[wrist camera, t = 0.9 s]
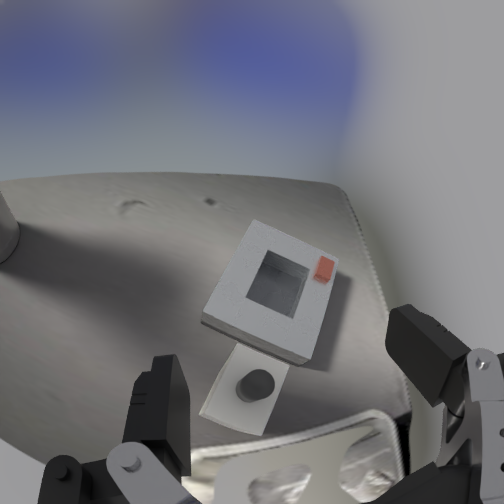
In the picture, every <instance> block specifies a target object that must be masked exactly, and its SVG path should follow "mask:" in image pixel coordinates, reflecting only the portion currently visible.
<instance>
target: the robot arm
mask: <svg viewBox="0 0 504 504" xmlns="http://www.w3.org/2000/svg"><path fill="white" fill-rule="evenodd" d="M19 236H20V228H19V225H18V223H17V222H16V220H15V218H14V216H13V214H12V213H11V211H10V209H9V207H8V205H7V203H6V201H5V199H4V197H3V195H2V193H1V191H0V263H1V262H3V261H4V260H5V259H7V258H8V257H9V256H10V254H11V253H12V252H13V250H14V249H15V247H16V245H17V243H18V240H19ZM385 346H386V350H387V352H388V354H389V356H390V357H391V358H392V359H393V360H394V362H395V363H396V364H397V365H398V366H399V367H400V369H401V370H402V371H403V372H404V373H405V375H406V376H407V377H408V378H409V379H410V381H411V382H412V383H413V384H414V385H415V387H416V388H417V389H418V390H419V391H420V392H421V394H422V395H423V396H424V398H425V399H426V400H427V401H428V402H429V404H430V405H431V406H432V407H435V406H436V405H438V404H440V403H442V402H444V403H445V407H444V409H443V425H442V440H441V449H440V453H439V455H438V458H437V460H436V462H435V463H434V462H431V463H430V464H428V465H426V466H424V467H423V468H421V469H419V470H417V471H416V472H414V473H412V474H410V475H408V476H406V477H404V478H403V479H402V480H401V481H399V482H398V483H397V484H396V485H394V486H393V487H392V488H391V489H389V490H388V491H387V492H385V493H384V494H383V495H381V496H380V497H379V498H377V499H376V500H374V501H371V502H367V503H361V504H504V353H502V354H498V355H496V354H494V353H493V352H492V351H490V350H487V349H482V348H478V349H474V350H471V349H470V348H469V347H467V346H466V345H465V344H464V343H463V342H462V341H460V340H459V339H458V338H457V337H456V336H455V335H453V334H452V333H451V332H450V331H447V329H446V328H445V327H444V326H443V325H442V326H441V324H440V323H439V322H438V321H437V320H435V319H434V318H433V317H431V316H429V315H426V314H424V313H422V312H419V311H418V310H417V309H416V308H414V307H413V306H412V305H410V304H406V305H403V306H400V307H397V308H394V309H392V310H391V311H390V314H389V321H388V327H387V333H386V339H385ZM181 476H191V452H190V395H189V389H188V386H187V383H186V380H185V377H184V375H183V372H182V369H181V366H180V364H179V361H178V358H177V356H176V355H175V354H173V355H164V356H155V357H154V358H153V363H152V368H151V371H148V372H142V373H141V375H140V376H139V377H138V379H137V380H136V381H135V383H134V387H133V391H132V396H131V401H130V406H129V410H128V415H127V420H126V425H125V430H124V435H123V440H122V444H120V445H118V446H116V447H115V448H114V449H112V451H111V452H110V453H109V455H108V457H107V458H106V459H103V460H99V461H94V462H89V463H84V464H80V463H79V462H78V461H77V460H76V459H75V458H73V457H71V456H68V455H59V456H56V457H54V458H53V459H51V460H50V461H49V462H48V463H47V465H46V467H45V470H44V474H43V478H42V483H41V488H40V493H39V498H38V504H202V503H201V502H200V501H198V500H197V499H196V498H194V497H193V496H192V495H191V494H190V493H189V492H188V491H187V490H186V489H185V488H184V487H183V486H182V485H181Z"/></svg>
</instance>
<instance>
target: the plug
mask: <svg viewBox="0 0 504 504" xmlns="http://www.w3.org/2000/svg"><path fill="white" fill-rule="evenodd" d="M289 366H290V365H288V364H286V363H283V362H281V361H278V360H276V359H274V358H271V357H269V356H267V355H264V354H262V353H260V352H257V351H255V350H253V349H251V348H248V347H246V346H244V345H242V344H239V343H237V345H236V346H235V348H234V350H233V351H232V353H231V354H230V356H229V358H228V359H227V361H226V362H225V364H224V366H223V367H222V369H221V370H220V372H219V374H218V376H217V378H216V380H215V382H214V384H213V386H212V388H211V390H210V392H209V394H208V396H207V398H206V401H205V403H204V405H203V407H202V409H201V411H200V413H199V415H200V416H202V417H204V418H207V419H209V420H211V421H213V422H216V423H218V424H220V425H223V426H225V427H228V428H230V429H233V430H237V431H241V432H245V433H249V434H254V435H258V436H262V434H263V431H264V429H265V427H266V424H267V422H268V420H269V417H270V415H271V412H272V410H273V407H274V405H275V403H276V400H277V398H278V395H279V392H280V390H281V387H282V385H283V382H284V380H285V377H286V374H287V372H288V369H289Z"/></svg>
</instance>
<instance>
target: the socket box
mask: <svg viewBox="0 0 504 504" xmlns="http://www.w3.org/2000/svg"><path fill="white" fill-rule="evenodd" d="M338 262H339V259H338V258H336V257H334V256H332V255H330V254H328V253H326V252H324V251H322V250H320V249H317V248H315V247H313V246H311V245H309V244H307V243H305V242H303V241H300V240H298V239H296V238H294V237H292V236H290V235H288V234H285V233H283V232H281V231H279V230H277V229H275V228H272V227H270V226H268V225H266V224H264V223H261V222H259V221H257V220H255V219H253V221H252V223H251V225H250V226H249V228H248V230H247V232H246V233H245V235H244V237H243V239H242V241H241V242H240V244H239V246H238V248H237V250H236V251H235V253H234V255H233V257H232V258H231V260H230V262H229V264H228V266H227V267H226V269H225V271H224V273H223V275H222V277H221V278H220V280H219V282H218V284H217V286H216V287H215V289H214V291H213V293H212V295H211V296H210V298H209V300H208V302H207V304H206V306H205V307H204V309H203V311H202V319H201V323H202V324H204V325H206V326H208V327H210V328H212V329H214V330H216V331H218V332H220V333H222V334H224V335H226V336H229V337H231V338H233V339H235V340H237V341H239V342H242V343H244V344H246V345H248V346H250V347H253V348H255V349H257V350H259V351H262V352H264V353H266V354H269V355H271V356H273V357H276V358H278V359H281V360H283V361H285V362H288V363H290V364H293V365H295V366H300V365H302V364H304V363H305V362H307V361H309V360H311V357H312V354H313V351H314V348H315V345H316V341H317V338H318V335H319V332H320V328H321V325H322V322H323V318H324V315H325V311H326V308H327V304H328V301H329V297H330V293H331V290H332V286H333V282H334V278H335V274H336V270H337V266H338Z"/></svg>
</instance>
